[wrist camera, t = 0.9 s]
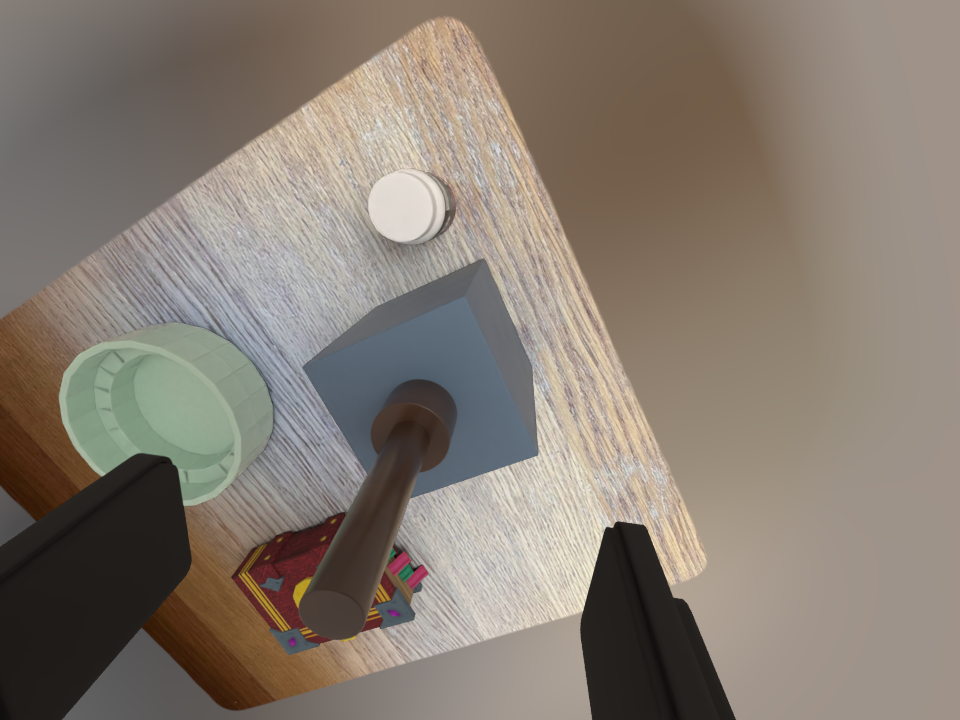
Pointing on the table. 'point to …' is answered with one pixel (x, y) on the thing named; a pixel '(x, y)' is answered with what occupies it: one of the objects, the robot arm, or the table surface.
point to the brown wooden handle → (379, 508)
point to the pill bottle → (411, 206)
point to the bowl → (168, 405)
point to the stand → (437, 373)
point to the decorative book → (291, 566)
